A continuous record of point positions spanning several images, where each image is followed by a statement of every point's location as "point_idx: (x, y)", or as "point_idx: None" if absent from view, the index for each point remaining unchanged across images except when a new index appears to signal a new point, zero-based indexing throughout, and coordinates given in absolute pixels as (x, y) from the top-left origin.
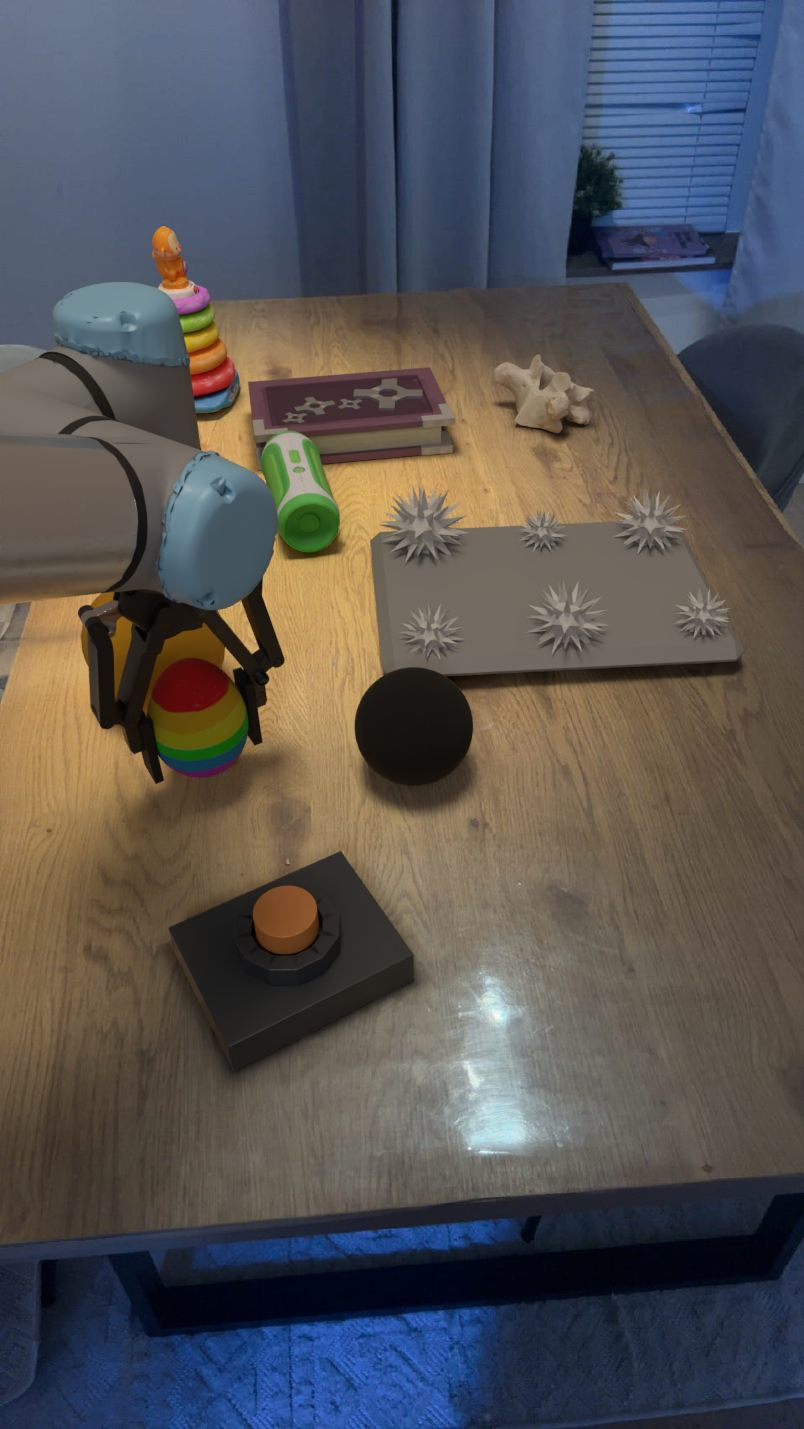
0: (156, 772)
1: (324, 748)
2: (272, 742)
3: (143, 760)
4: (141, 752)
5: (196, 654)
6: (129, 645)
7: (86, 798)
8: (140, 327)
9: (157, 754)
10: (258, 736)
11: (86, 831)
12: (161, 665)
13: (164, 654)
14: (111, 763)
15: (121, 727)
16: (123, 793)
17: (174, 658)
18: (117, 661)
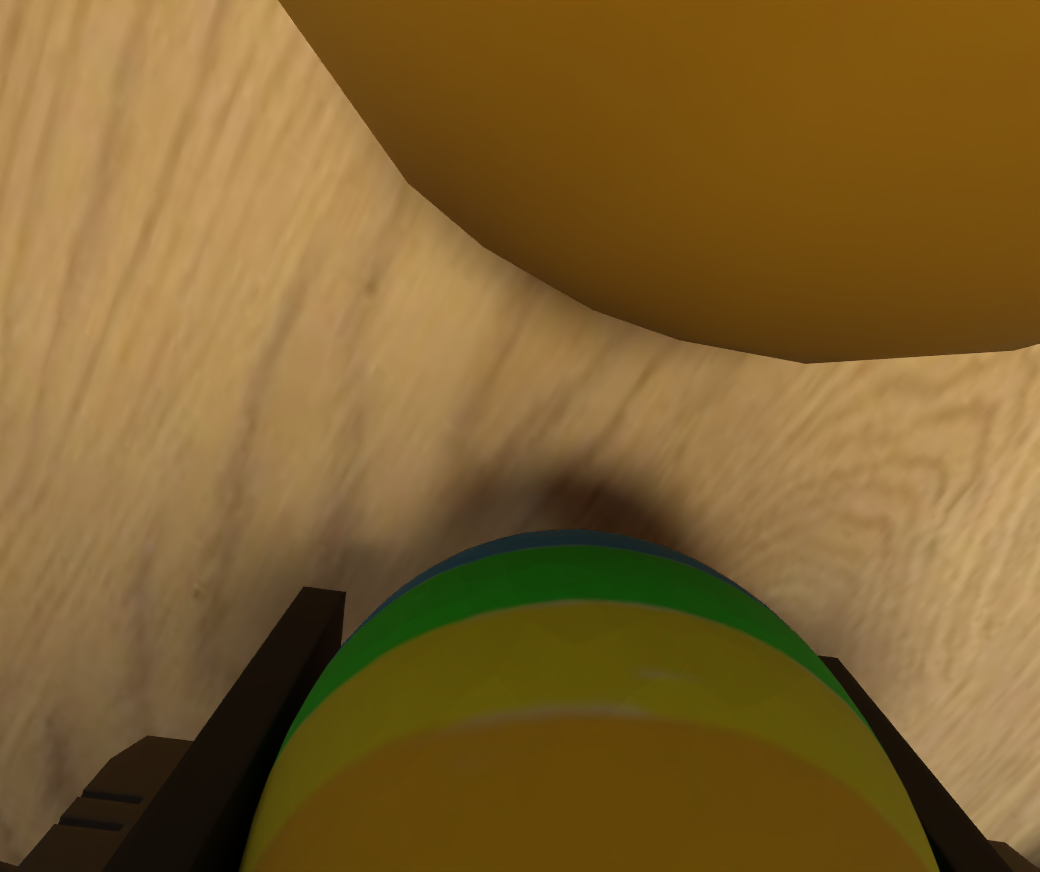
0: None
1: (976, 730)
2: (857, 589)
3: (295, 598)
4: (277, 623)
5: (1001, 347)
6: (472, 6)
7: (117, 406)
8: None
9: None
10: None
11: (63, 559)
12: (669, 320)
13: (756, 325)
14: (276, 284)
15: (25, 865)
16: (251, 473)
17: (811, 349)
18: (317, 33)
